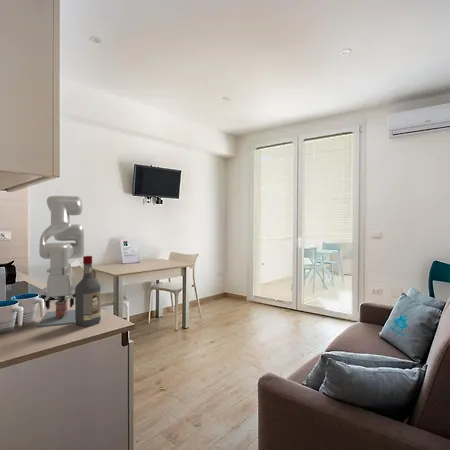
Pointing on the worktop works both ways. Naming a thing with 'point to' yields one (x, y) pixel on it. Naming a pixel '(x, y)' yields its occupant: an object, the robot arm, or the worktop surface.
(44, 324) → the mat
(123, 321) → the worktop surface
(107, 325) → the worktop surface
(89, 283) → the liquor
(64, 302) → the lighter
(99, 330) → the worktop surface
